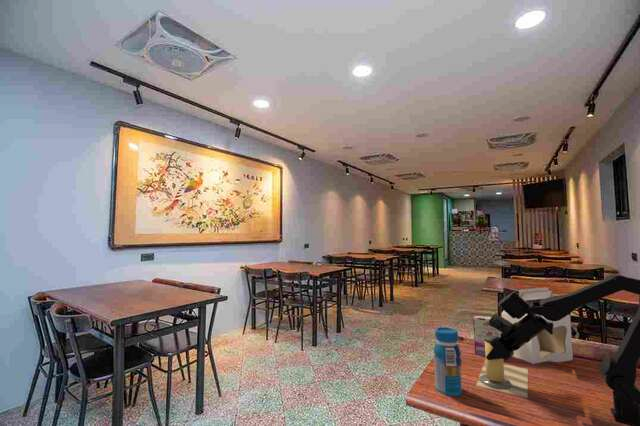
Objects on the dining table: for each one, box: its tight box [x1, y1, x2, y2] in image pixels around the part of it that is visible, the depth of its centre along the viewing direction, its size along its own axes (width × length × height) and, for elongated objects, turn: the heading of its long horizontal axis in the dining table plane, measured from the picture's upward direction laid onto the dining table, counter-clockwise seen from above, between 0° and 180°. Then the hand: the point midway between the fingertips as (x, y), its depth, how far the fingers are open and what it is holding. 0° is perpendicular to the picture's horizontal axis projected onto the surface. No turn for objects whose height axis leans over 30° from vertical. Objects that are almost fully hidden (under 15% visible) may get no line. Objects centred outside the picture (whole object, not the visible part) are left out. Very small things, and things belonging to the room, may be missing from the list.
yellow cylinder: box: [484, 335, 505, 382], centre depth 105 cm, size 5×5×13 cm
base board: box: [475, 360, 529, 399], centre depth 109 cm, size 24×14×2 cm, turn 146°
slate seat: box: [479, 375, 511, 389], centre depth 105 cm, size 9×9×1 cm
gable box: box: [501, 286, 574, 365], centre depth 130 cm, size 22×13×28 cm, turn 108°
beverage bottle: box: [432, 326, 463, 397], centre depth 101 cm, size 8×8×20 cm
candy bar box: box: [472, 314, 502, 357], centre depth 129 cm, size 11×5×16 cm, turn 62°
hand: (490, 356), depth 106 cm, fingers closed on yellow cylinder, 5 cm apart
